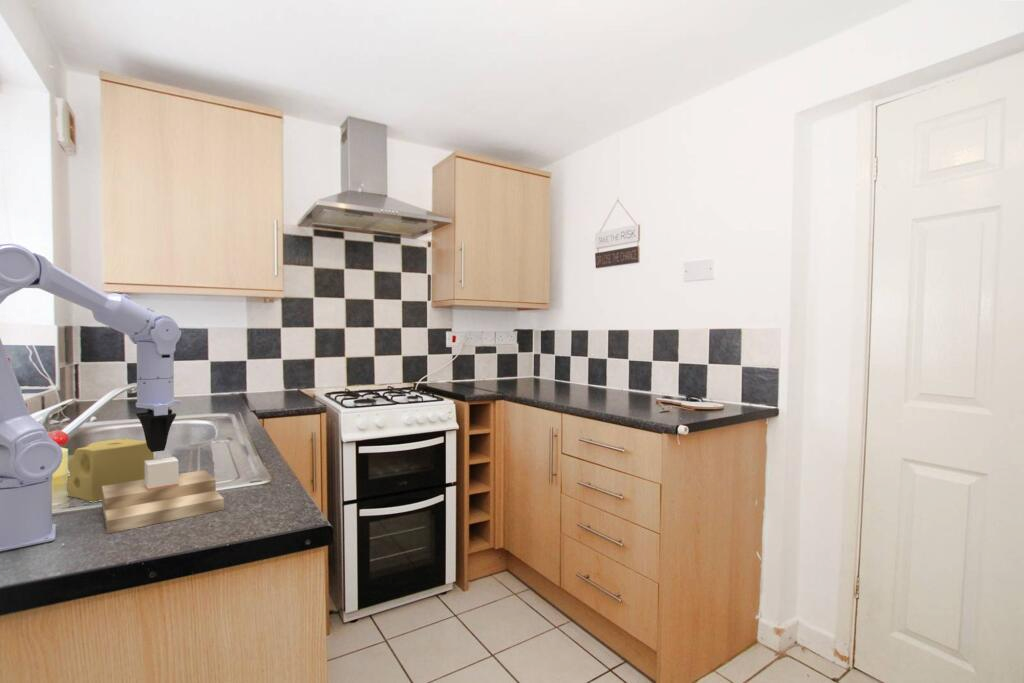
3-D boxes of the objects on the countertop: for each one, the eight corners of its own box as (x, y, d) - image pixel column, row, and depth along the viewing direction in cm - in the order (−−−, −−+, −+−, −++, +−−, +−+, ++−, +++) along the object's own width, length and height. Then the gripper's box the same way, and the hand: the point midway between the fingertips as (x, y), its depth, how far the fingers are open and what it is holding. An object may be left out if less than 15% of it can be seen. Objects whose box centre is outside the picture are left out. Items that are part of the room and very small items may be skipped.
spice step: (107, 533, 77) (107, 508, 77) (102, 508, 89) (101, 485, 89) (223, 509, 87) (223, 487, 87) (204, 489, 100) (204, 469, 100)
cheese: (66, 497, 96) (65, 445, 96) (129, 482, 106) (129, 436, 106) (91, 504, 91) (91, 450, 91) (156, 489, 101) (155, 440, 101)
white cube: (147, 490, 86) (147, 465, 86) (144, 485, 89) (144, 460, 89) (178, 485, 89) (178, 460, 89) (174, 480, 92) (174, 456, 92)
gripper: (187, 379, 91) (187, 452, 91) (174, 375, 102) (175, 441, 102) (139, 381, 87) (140, 458, 87) (131, 377, 97) (132, 446, 97)
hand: (156, 449), depth 94 cm, fingers open, 3 cm apart
